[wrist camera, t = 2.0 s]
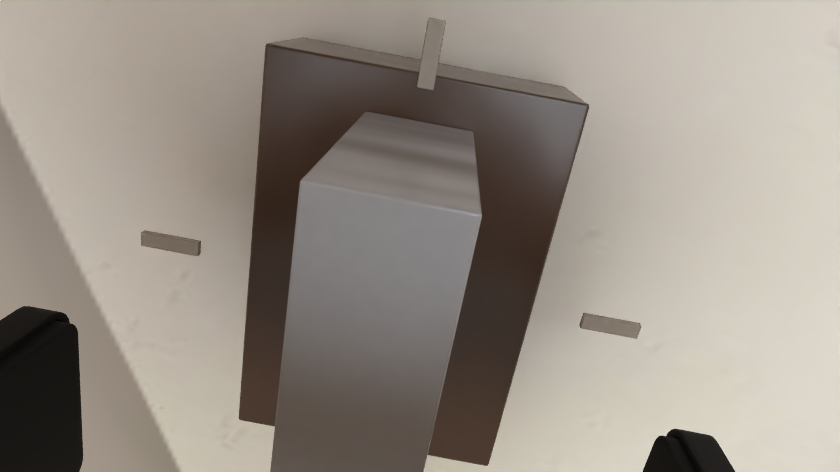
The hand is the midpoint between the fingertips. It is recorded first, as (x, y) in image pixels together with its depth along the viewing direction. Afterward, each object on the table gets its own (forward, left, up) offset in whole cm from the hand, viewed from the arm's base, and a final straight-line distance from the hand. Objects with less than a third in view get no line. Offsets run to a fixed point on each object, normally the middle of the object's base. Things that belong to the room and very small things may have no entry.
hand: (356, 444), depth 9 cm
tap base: (0, 0, -8) cm, 8 cm away
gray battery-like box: (0, 0, -5) cm, 5 cm away
